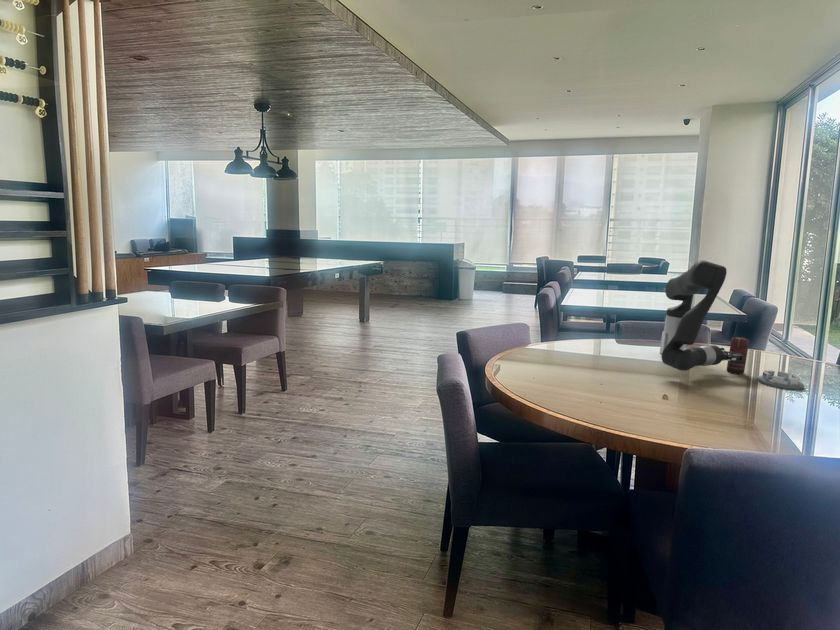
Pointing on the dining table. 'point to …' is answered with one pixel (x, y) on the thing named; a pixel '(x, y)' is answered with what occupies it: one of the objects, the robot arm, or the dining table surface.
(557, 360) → the dining table surface
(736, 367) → the can
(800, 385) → the slate plate
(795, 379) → the ring collar
